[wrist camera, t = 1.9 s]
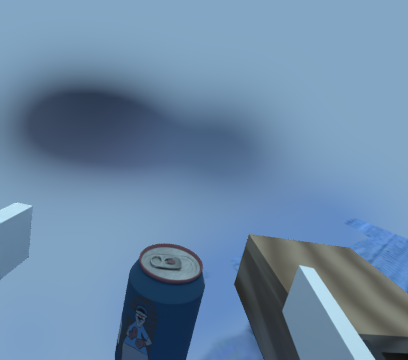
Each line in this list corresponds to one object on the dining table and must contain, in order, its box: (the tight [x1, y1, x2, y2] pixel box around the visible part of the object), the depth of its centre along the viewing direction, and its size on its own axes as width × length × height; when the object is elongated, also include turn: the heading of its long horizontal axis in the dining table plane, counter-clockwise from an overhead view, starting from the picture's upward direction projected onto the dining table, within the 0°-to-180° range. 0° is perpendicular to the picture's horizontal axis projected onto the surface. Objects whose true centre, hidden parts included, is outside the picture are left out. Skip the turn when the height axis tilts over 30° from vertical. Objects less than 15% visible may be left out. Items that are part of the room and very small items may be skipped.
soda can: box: [115, 244, 205, 360], centre depth 26 cm, size 7×7×12 cm
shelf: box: [234, 234, 408, 360], centre depth 35 cm, size 18×18×9 cm
